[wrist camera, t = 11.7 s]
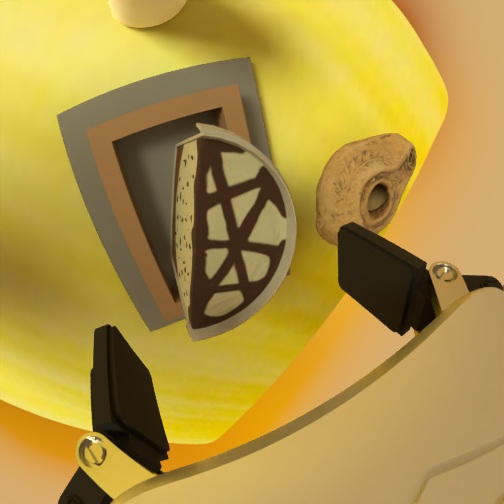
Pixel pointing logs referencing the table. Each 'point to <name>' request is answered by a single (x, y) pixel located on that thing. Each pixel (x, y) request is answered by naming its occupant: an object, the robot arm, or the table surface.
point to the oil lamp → (364, 184)
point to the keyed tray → (152, 166)
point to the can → (145, 11)
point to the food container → (227, 230)
